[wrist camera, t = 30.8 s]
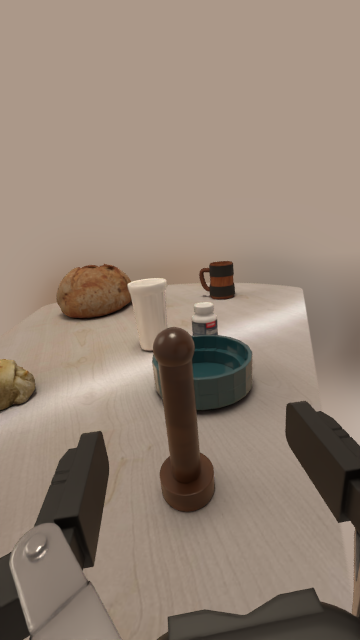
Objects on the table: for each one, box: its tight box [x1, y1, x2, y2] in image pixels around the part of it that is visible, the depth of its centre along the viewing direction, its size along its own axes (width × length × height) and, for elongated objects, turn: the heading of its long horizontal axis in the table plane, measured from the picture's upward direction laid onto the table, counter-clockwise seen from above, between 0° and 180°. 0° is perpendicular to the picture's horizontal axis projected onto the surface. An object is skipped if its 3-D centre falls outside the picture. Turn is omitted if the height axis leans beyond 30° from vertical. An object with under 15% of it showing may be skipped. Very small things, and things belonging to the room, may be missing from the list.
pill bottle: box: [192, 302, 218, 336], centre depth 58 cm, size 5×5×9 cm
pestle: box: [153, 327, 215, 512], centre depth 24 cm, size 5×5×17 cm
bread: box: [57, 264, 132, 318], centre depth 93 cm, size 26×23×15 cm
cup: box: [127, 278, 168, 350], centre depth 58 cm, size 8×8×14 cm
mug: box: [199, 261, 235, 299], centre depth 95 cm, size 9×12×12 cm
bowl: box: [152, 335, 252, 410], centre depth 43 cm, size 15×15×6 cm
